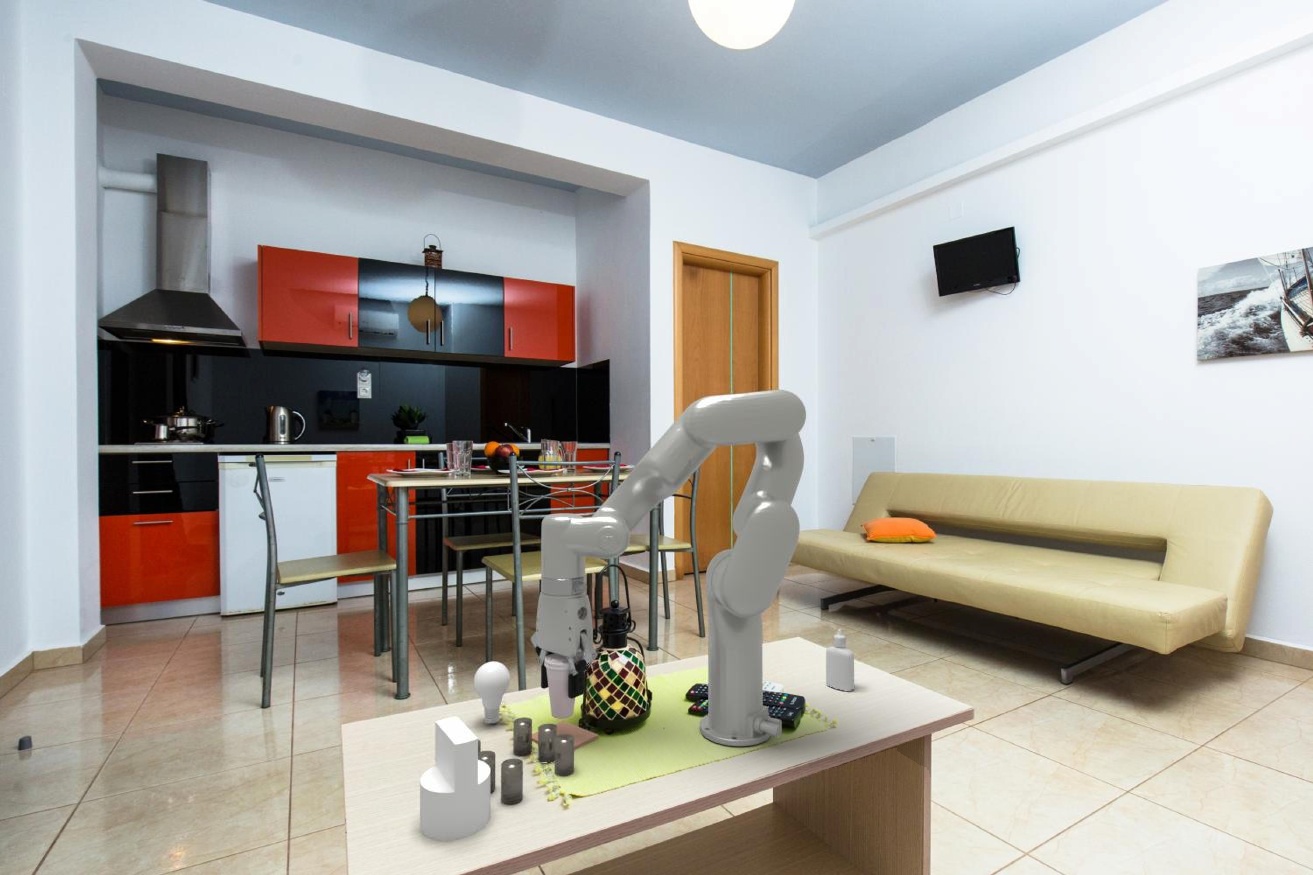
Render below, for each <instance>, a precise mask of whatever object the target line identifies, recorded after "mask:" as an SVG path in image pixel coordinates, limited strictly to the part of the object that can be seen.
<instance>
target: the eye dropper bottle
mask: <svg viewBox="0 0 1313 875" xmlns="http://www.w3.org/2000/svg"><path fill="white" fill-rule="evenodd" d="M846 637H847V636H846V635H844V634H843V630H842V629H841V628H838V629H837V633H836V634H834V635H833V645H831V646H829V647H827V649H826V650H825V653H826V654H825V672H826V673H825V675H826V676H825V677H826V678H825V684H826V685H827V686H828V687H829V686H830V687H829V688H831V687H833V688H835V689H834V690H836V689H840V690H846V691H849V692H851V691H853V690H854V689H855V656H854V652H853V650H850V649H849V648H848V647H847V638H846ZM833 688H832V689H833ZM852 689H853V690H852ZM840 690H839V691H840ZM846 691H845V692H846Z"/></svg>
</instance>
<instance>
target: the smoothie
mask: <svg viewBox="0 0 1313 875" xmlns="http://www.w3.org/2000/svg"><path fill="white" fill-rule="evenodd" d="M575 661H576V665H577V664H578V663H579V660H578V657H576V658H575ZM544 665H545V667H546V669H547V679H548V697H549V703H550V705H549V706H550V713H551V717H552V718H553V719H557V720H564V719H565V720H566V719H569V718H572V717H573V716H574V710H575V704H576V697H575V698H573V699H571V698H569V697H568V676H569V674H571V670H570V666H569V662H568V658H567V657H565V656H562V655H559V654H555V653H553V654H550V655H548V656H546V657H545V663H544Z"/></svg>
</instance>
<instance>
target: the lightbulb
mask: <svg viewBox="0 0 1313 875" xmlns="http://www.w3.org/2000/svg"><path fill="white" fill-rule="evenodd" d="M510 681H511V674H510V671H509V670H508V668H507V666H505V664H503V663H502V662H499V661H488V662H486V663H484V664H482V665H481V666H480V667H479V668H478V669H477V671H475V674H474V679H473V686H474V690H475V691H476V693H477V695H478V696H479V697H480V699H481V703H482V706H483V708H484V711H483V713H484V714H483V715H484V722H485V723H486V724H488V725H494V724H496V723H498V722H499V721H500V720H501V718H500V714H501V713H500V707H501V705H502V701H503V697H504V695H505V693H506V691H507V690H508V688H509V686H510V684H511V683H510Z"/></svg>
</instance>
